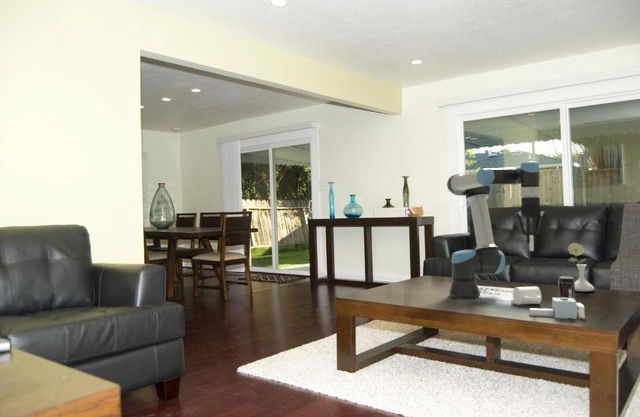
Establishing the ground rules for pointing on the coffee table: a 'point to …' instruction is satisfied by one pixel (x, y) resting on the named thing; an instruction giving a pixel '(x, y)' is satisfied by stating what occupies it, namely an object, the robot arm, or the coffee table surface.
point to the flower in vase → (581, 282)
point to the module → (564, 307)
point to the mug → (527, 295)
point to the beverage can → (566, 287)
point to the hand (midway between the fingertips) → (531, 250)
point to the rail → (552, 312)
